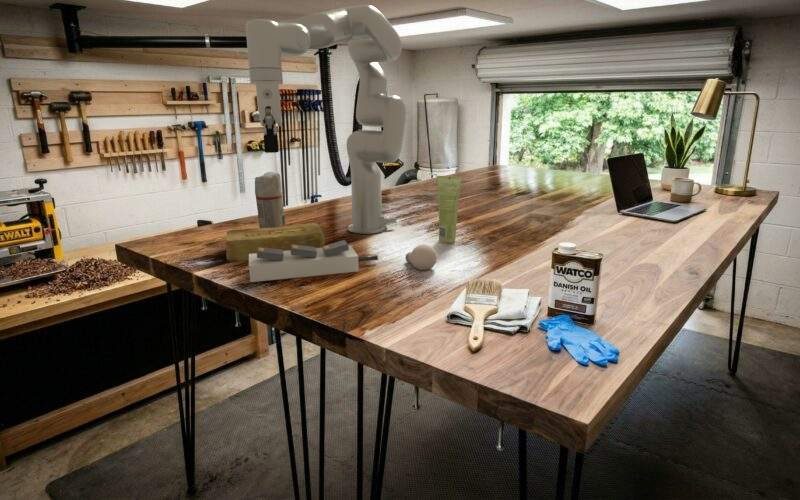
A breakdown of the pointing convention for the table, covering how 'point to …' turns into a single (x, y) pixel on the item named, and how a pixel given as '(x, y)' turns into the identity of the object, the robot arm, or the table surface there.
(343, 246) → the block
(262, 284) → the table surface
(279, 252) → the block
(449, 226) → the tube
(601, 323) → the table surface
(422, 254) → the light bulb
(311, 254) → the plate
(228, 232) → the brick
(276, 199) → the grey cylinder
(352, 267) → the power strip
